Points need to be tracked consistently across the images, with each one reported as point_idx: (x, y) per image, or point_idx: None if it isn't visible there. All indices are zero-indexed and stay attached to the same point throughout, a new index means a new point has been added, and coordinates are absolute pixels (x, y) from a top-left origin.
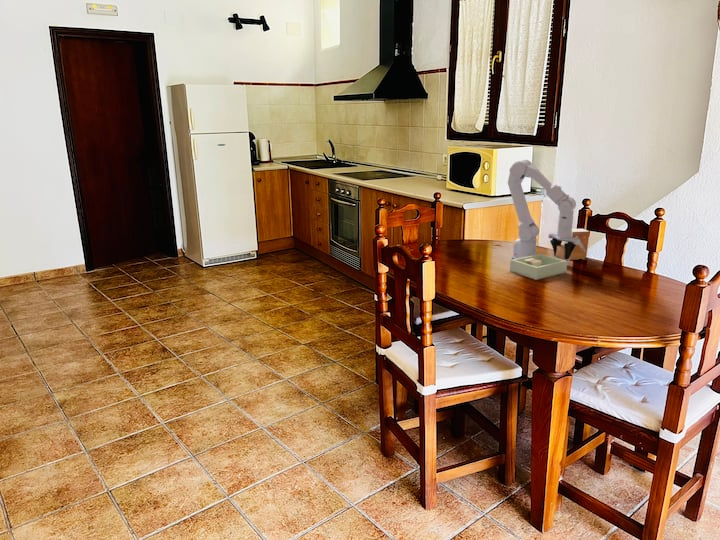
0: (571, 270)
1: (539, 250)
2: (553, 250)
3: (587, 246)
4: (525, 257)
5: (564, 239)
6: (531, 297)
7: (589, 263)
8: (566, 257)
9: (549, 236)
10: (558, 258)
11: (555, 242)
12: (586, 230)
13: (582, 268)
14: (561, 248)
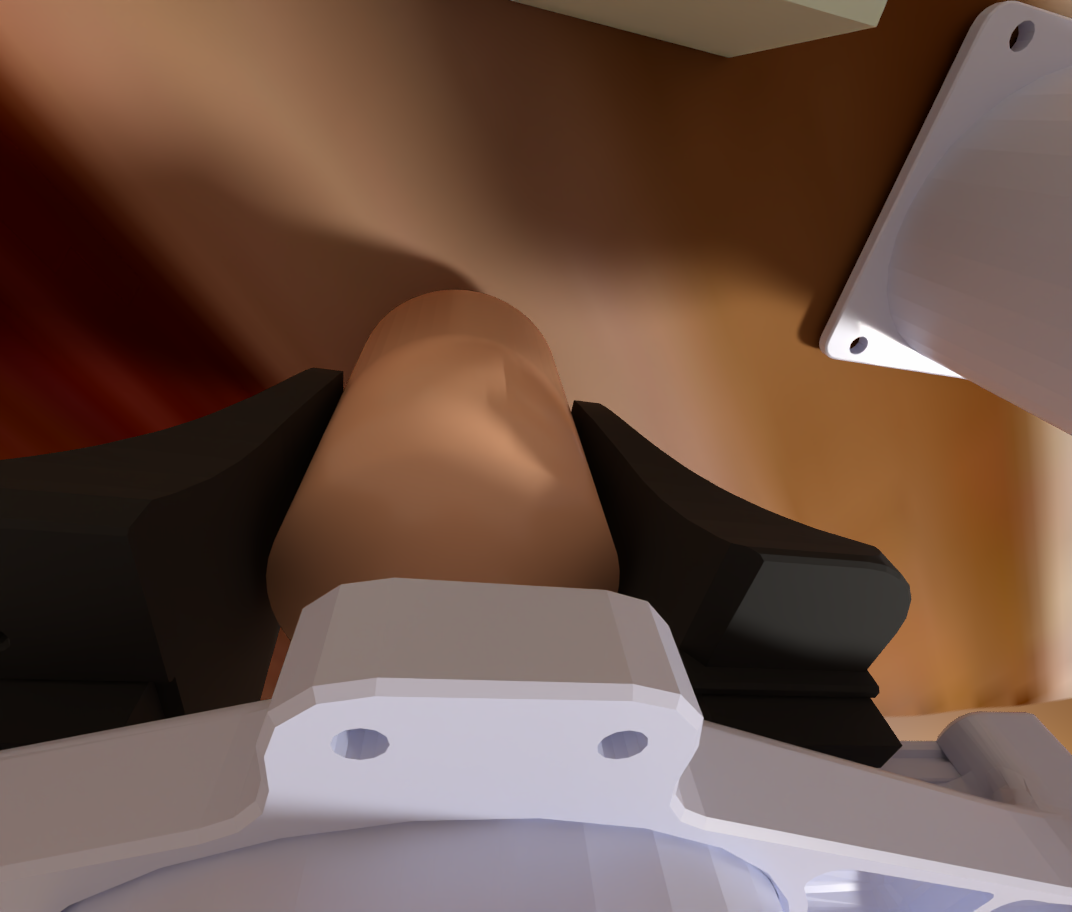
0: (105, 177)
1: (904, 659)
2: (654, 445)
3: None
4: None
5: (70, 781)
6: None
7: (283, 644)
8: (291, 380)
9: (1056, 776)
10: (456, 318)
11: (689, 592)
12: None
13: (135, 426)
14: (380, 441)
